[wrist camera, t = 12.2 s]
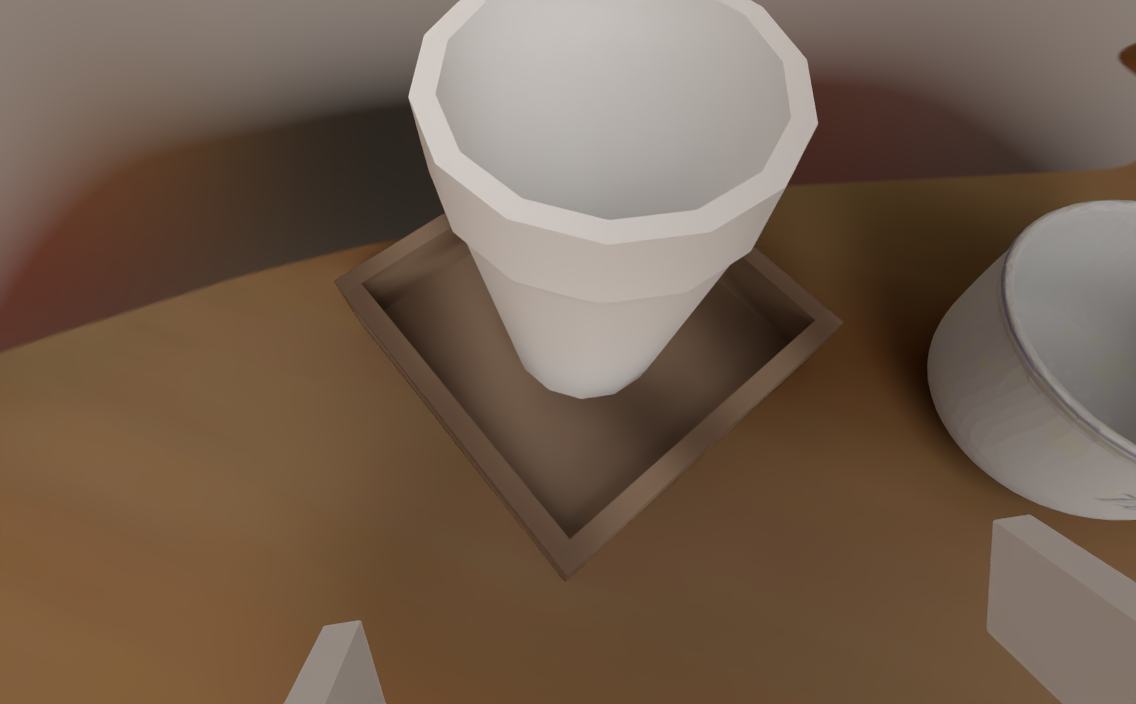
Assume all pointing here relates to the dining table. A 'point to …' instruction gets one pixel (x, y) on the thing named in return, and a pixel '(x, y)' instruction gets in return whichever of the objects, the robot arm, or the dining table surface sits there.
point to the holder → (568, 424)
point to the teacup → (1049, 363)
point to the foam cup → (607, 164)
